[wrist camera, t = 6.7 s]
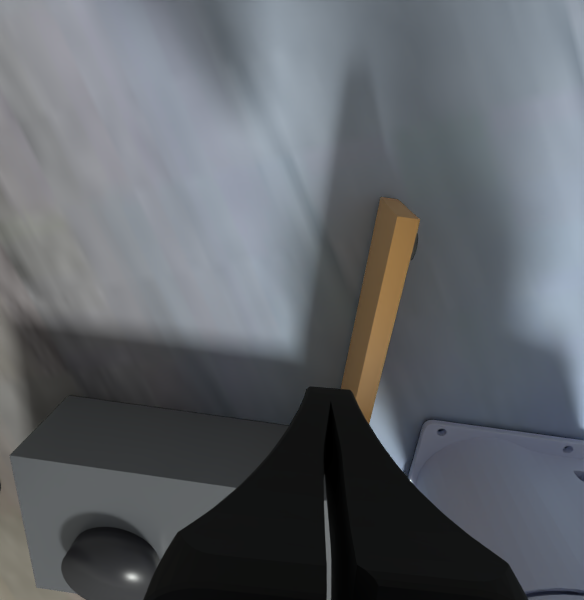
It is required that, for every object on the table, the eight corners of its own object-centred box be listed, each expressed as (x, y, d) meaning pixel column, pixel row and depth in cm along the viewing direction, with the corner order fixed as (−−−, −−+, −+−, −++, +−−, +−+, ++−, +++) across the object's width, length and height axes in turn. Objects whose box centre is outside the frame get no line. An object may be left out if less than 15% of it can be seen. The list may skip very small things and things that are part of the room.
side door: (355, 430, 24) (362, 501, 19) (331, 426, 24) (332, 496, 20) (410, 200, 19) (437, 222, 14) (379, 196, 19) (395, 216, 14)
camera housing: (365, 436, 24) (376, 526, 19) (339, 551, 28) (343, 654, 22) (68, 395, 25) (-6, 470, 19) (83, 514, 29) (24, 605, 23)
